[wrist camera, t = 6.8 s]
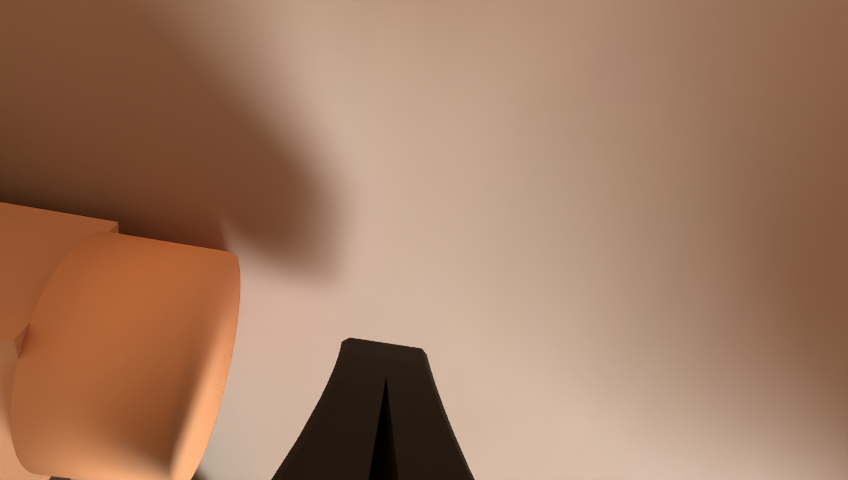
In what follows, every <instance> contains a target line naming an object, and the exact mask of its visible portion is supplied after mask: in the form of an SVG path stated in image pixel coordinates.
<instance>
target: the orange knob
mask: <svg viewBox="0 0 848 480" xmlns="http://www.w3.org/2000/svg"><path fill="white" fill-rule="evenodd" d="M239 303H240V268H239V262H238V258H237V256H236V255H235V254H234V253H233V252H227V251H221V250H215V249H209V248H203V247H197V246H191V245H185V244H179V243H173V242H167V241H161V240H155V239H149V238H143V237H137V236H131V235H125V234H119V227H118V222H116V221H110V220H104V219H98V218H92V217H86V216H80V215H74V214H68V213H62V212H56V211H50V210H44V209H38V208H32V207H26V206H20V205H14V204H8V203H2V202H0V480H49V479H50V477H51V476H54V477H62V478H71V479H79V480H191V478H192V476H193V475H194V473H195V471H196V469H197V467H198V465H199V463H200V461H201V459H202V456H203V454H204V451H205V449H206V446H207V444H208V441H209V438H210V435H211V433H212V430H213V427H214V424H215V420H216V417H217V414H218V410H219V407H220V403H221V400H222V396H223V392H224V388H225V384H226V380H227V376H228V372H229V367H230V362H231V357H232V352H233V347H234V341H235V335H236V329H237V321H238V313H239Z"/></svg>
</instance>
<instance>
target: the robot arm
mask: <svg viewBox="0 0 848 480" xmlns="http://www.w3.org/2000/svg"><path fill="white" fill-rule="evenodd" d="M271 480H474V477H473V475H472V473H471V471H470V469H469V467H468V465H467V462H466V460H465V458H464V455H463V453H462V451H461V448H460V446H459V444H458V442H457V439H456V437H455V435H454V432H453V430H452V427H451V425H450V422H449V420H448V417H447V415H446V412H445V410H444V407H443V404H442V401H441V399H440V396H439V393H438V390H437V387H436V385H435V382H434V378H433V375H432V372H431V369H430V365H429V362H428V358H427V355H426V353H425V352H424V351H423V349H421V348H415V347H408V346H401V345H395V344H388V343H382V342H375V341H369V340H362V339H355V338H348V339H346V340H344V341H343V342H342V344H341V348H340V352H339V356H338V359H337V361H336V364H335V367H334V369H333V372H332V374H331V377H330V379H329V381H328V383H327V385H326V387H325V389H324V391H323V394H322V396H321V398H320V400H319V401H318V403H317V405H316V407H315V409H314V410H313V412H312V414H311V416H310V418H309V419H308V421H307V423H306V425H305V427H304V429H303V430H302V432H301V434H300V436H299V437H298V439H297V441H296V442H295V444H294V445H293V447H292V448H291V450H290V452H289V453H288V455H287V456H286V458H285V459H284V461H283V462H282V464H281V465H280V467H279V469H278V470H277V472H276V473H275V475H274V476H273V478H272V479H271Z"/></svg>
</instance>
